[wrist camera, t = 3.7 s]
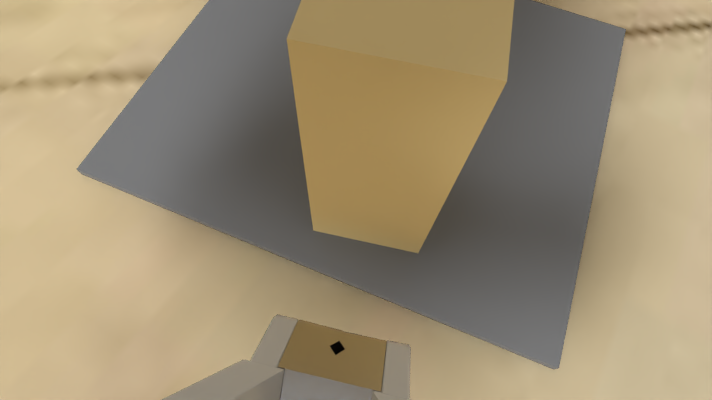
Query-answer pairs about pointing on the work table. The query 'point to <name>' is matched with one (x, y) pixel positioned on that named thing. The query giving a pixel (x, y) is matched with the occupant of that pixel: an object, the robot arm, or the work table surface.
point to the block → (392, 107)
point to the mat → (461, 208)
